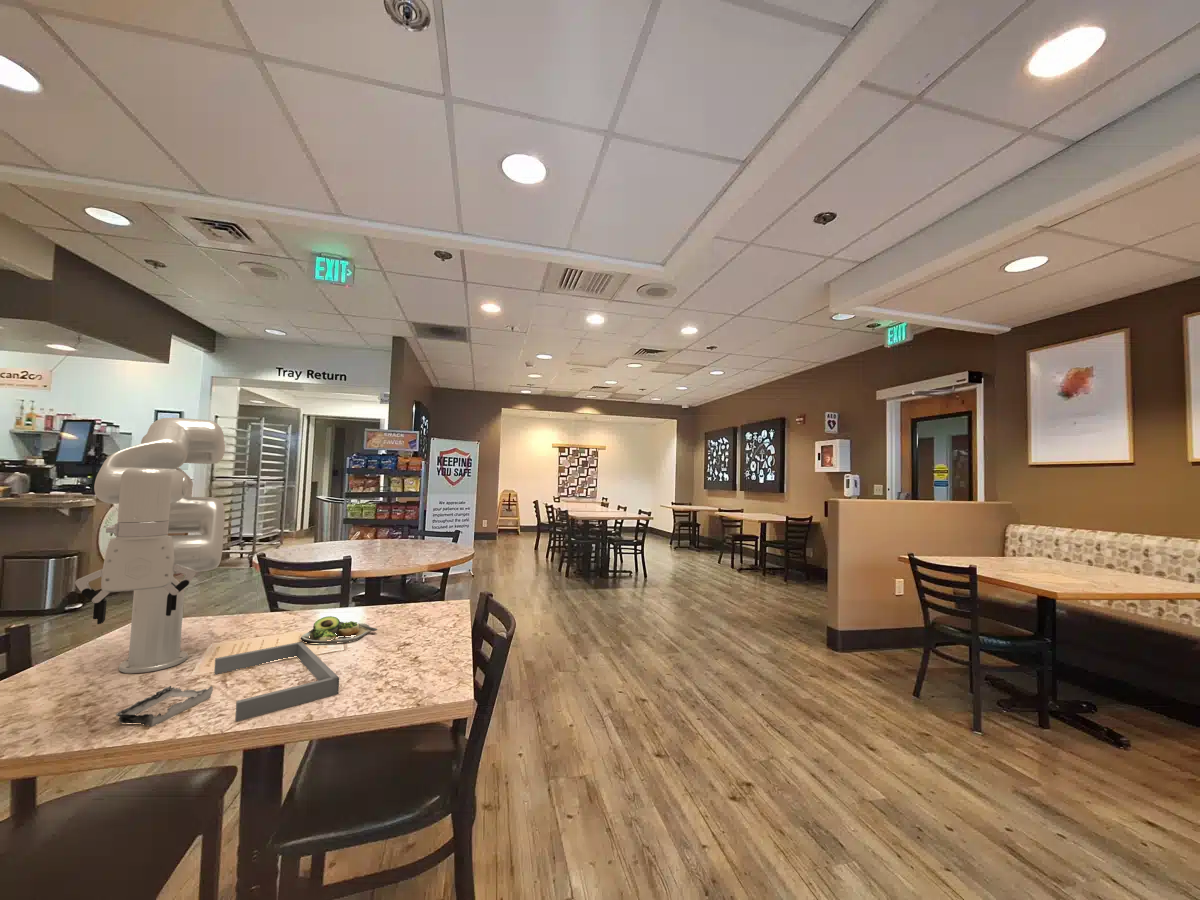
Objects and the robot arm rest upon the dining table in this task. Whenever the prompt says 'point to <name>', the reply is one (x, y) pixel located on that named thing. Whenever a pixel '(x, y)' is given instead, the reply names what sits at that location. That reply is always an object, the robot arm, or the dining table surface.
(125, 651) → the dining table surface
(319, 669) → the box
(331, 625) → the salad plate
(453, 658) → the dining table surface
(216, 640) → the dining table surface
